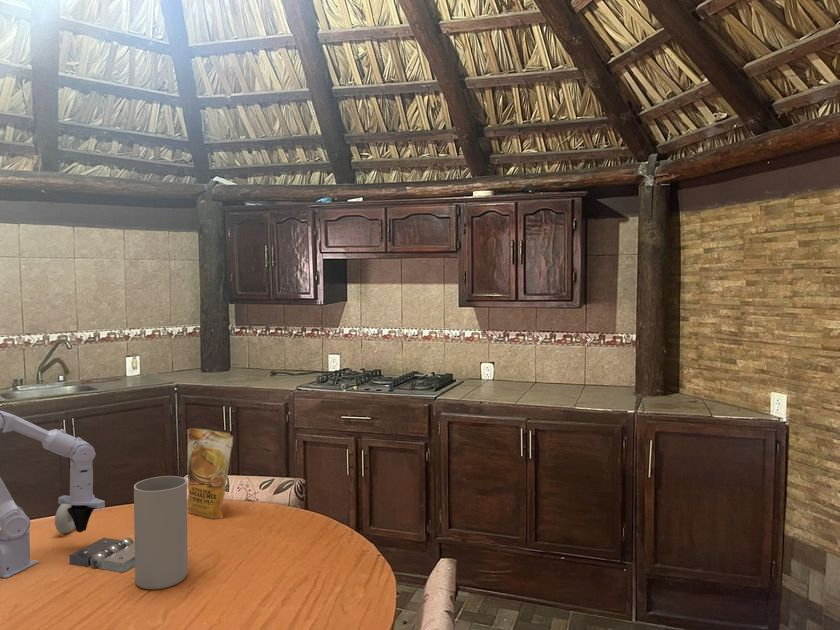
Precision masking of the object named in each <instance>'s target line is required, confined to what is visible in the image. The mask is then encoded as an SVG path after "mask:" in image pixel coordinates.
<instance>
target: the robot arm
mask: <svg viewBox="0 0 840 630" xmlns="http://www.w3.org/2000/svg"><path fill="white" fill-rule="evenodd" d="M12 431H13V432H16V433H19V434H21V435H23V436H26V437H29V438H31V439H34V440H37V441H39V442H41V444H42V448H43V449H45V450H46V451H47V450H48V451H50V452H52V453H55V454H57V455H59V456H62V457H64V458H69V459H70V461H69V462H70V465H69V466H70V468H69V495H66V494H65V495H61V496H58V498H57V499H58V500H57V501H58V505H61V504H70V505H72V506H71V508H68V509H67V511H68V513H69V514H70V515H71V517H72V519H73V521H74V524H75V530H76V533H82V532H84V531H86V530H87V527H88V523H89V520H90V517H91V515H92V514H93V511H94V510H95V509H96V510H100V511H101V510H102V509H104V508H105V507H106V504H105V502H106V501H105V500H103V499H100V498H97V497H95V496H96V495H95V494H94V493H93V492H94V488H93V487H94V484H93V483H94V467H93V460H94V459H95V457H96V454H97V452H95V448H94V447H93V445H91V444H90V443H89V442H88V441H85V440H84V439H82V438H81V437H79V436H77V437H75V436H74V435H70V434H69V433H67V431H66V430H65V429H63V428H61V429H57V428H55V429H51V430H47V429H44V428H43V427H41V426H38V425H36V424H34V423H32V422H30V421H27V420H26V419H24V418H21V417H19V416H17V415H15V414H12V413H10V412H6V411H3V410H0V432H1V433H2V434H3V433H8V432H12ZM30 529H31V519H30V518H29V517H28V515H27V514H26V513H25V511H24V509H23V508H22V507H21V506H19V505H17V504H16V502H15V500H14V499H13V497H12V495H11V493H10V492H9V490H8V488H7V486H6V485H5V483H4V481H3V479H2V477H1V476H0V578H4V579H7V578H10V577H12V576H14V575H16V574H18V573H20V572H22V571H24V570H26V569H29V568H31V567H33V566H35V565H37V564H38V563H39V560H36V559H35V560H34V559H31V540H30V538H31V536H30V535H31V534H30Z"/></svg>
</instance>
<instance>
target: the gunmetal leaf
mask: <svg viewBox="0 0 840 630" xmlns="http://www.w3.org/2000/svg"><path fill="white" fill-rule="evenodd" d="M121 540H122V539H115V538H107V537H102V538H100V539H98V540H96V541H94V542H92V543H90V544H89V545H86V546H84V547H82V548H80V549H78V550H76V551H74V552H72V553H70V554H69V555H68V556H69V558H68V560H69V565H75V566H81V567H85V568H86V567H87V568H89V567H92V565H91V563H90V558H91V557H92V556H93V555H95V554H96V553H98V552H100V551H103V552H105V553H106V554H107V556H108V557H109V556H111V555H112V554H113V552H112V550H111V549H109V548H108V547H110V546H112V545H114V544H117V545H119V546H120V548H121V550H122V549H124V548H125V547H126V545H125V543H124V542H122V541H121Z"/></svg>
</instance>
